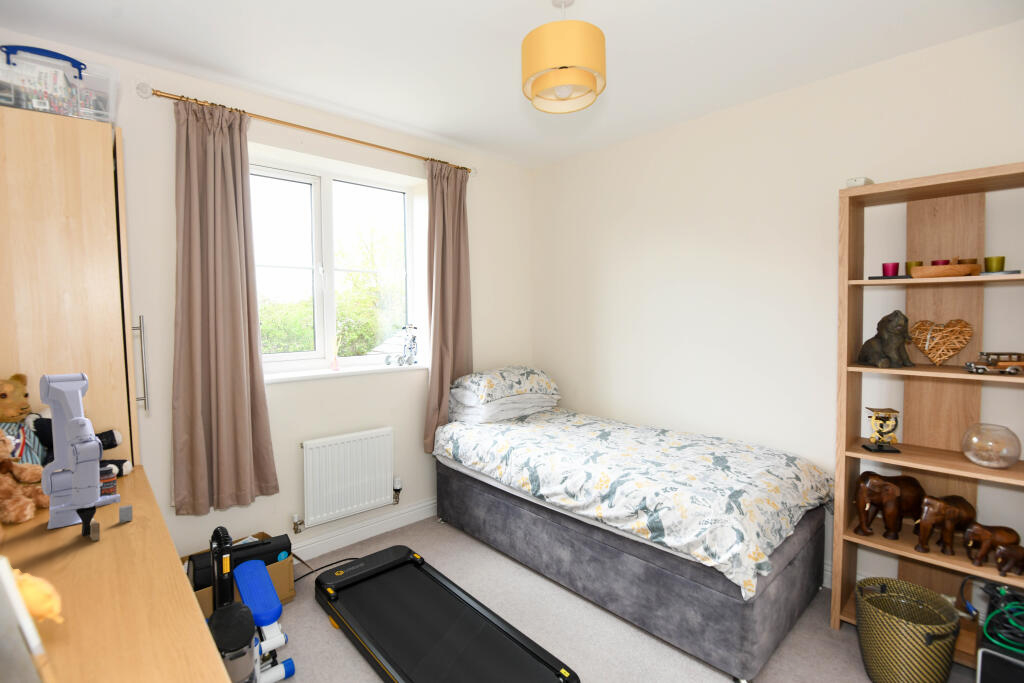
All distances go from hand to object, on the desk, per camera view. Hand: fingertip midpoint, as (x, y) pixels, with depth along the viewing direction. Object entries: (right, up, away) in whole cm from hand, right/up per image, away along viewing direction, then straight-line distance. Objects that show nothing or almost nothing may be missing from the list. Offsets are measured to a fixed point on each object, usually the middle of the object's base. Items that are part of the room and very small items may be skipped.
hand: (86, 534), depth 133 cm
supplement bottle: (-18, 0, +27) cm, 32 cm away
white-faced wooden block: (+2, -1, +12) cm, 12 cm away
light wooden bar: (+1, -1, +1) cm, 2 cm away
